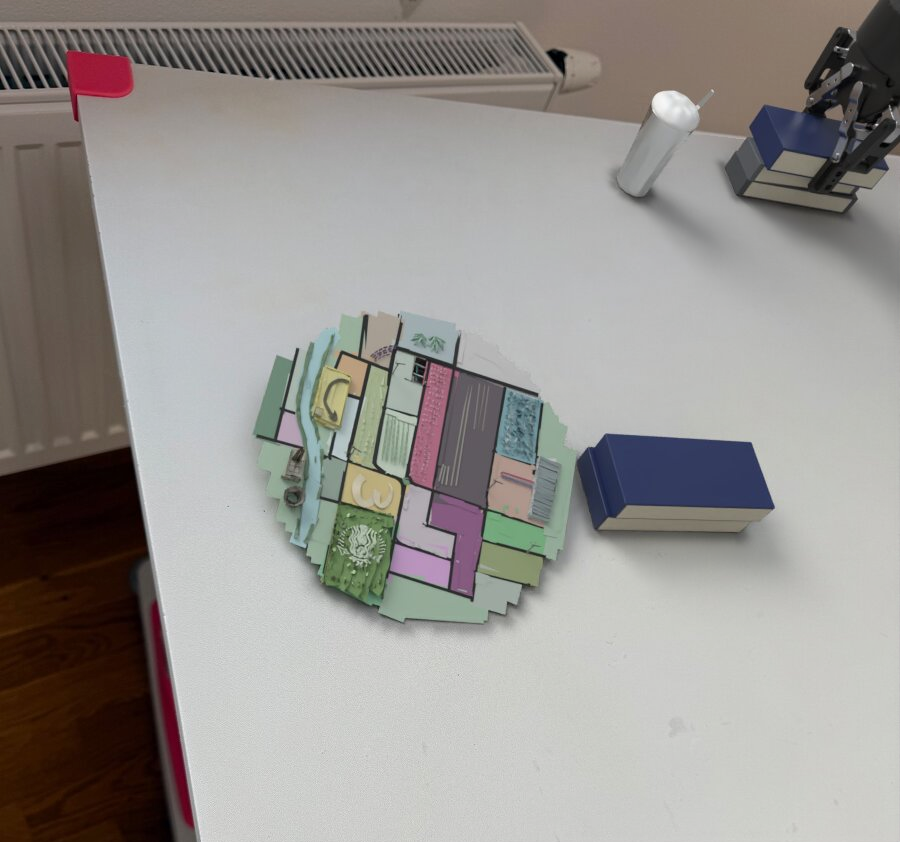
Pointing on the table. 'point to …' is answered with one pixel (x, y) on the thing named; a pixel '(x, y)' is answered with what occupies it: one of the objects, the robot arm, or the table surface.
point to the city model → (416, 466)
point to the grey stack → (781, 183)
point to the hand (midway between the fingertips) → (804, 166)
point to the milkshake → (658, 140)
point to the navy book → (804, 145)
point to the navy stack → (673, 484)
